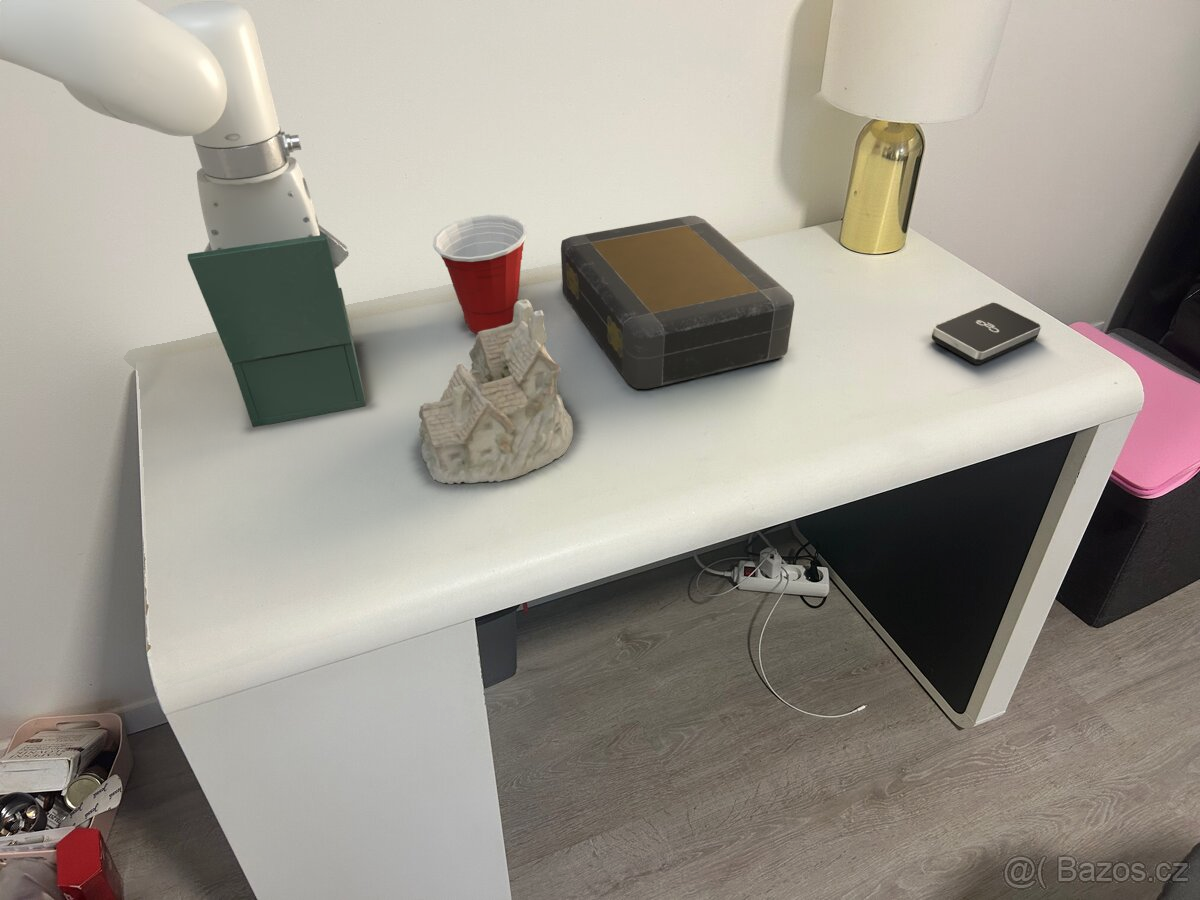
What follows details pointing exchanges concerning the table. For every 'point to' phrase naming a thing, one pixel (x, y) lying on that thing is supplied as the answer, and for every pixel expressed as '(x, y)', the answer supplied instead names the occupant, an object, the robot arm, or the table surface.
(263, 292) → the lid
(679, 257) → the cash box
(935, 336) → the external hard drive
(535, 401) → the ceramic cottage
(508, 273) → the plastic cup
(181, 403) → the table surface
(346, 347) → the tin
